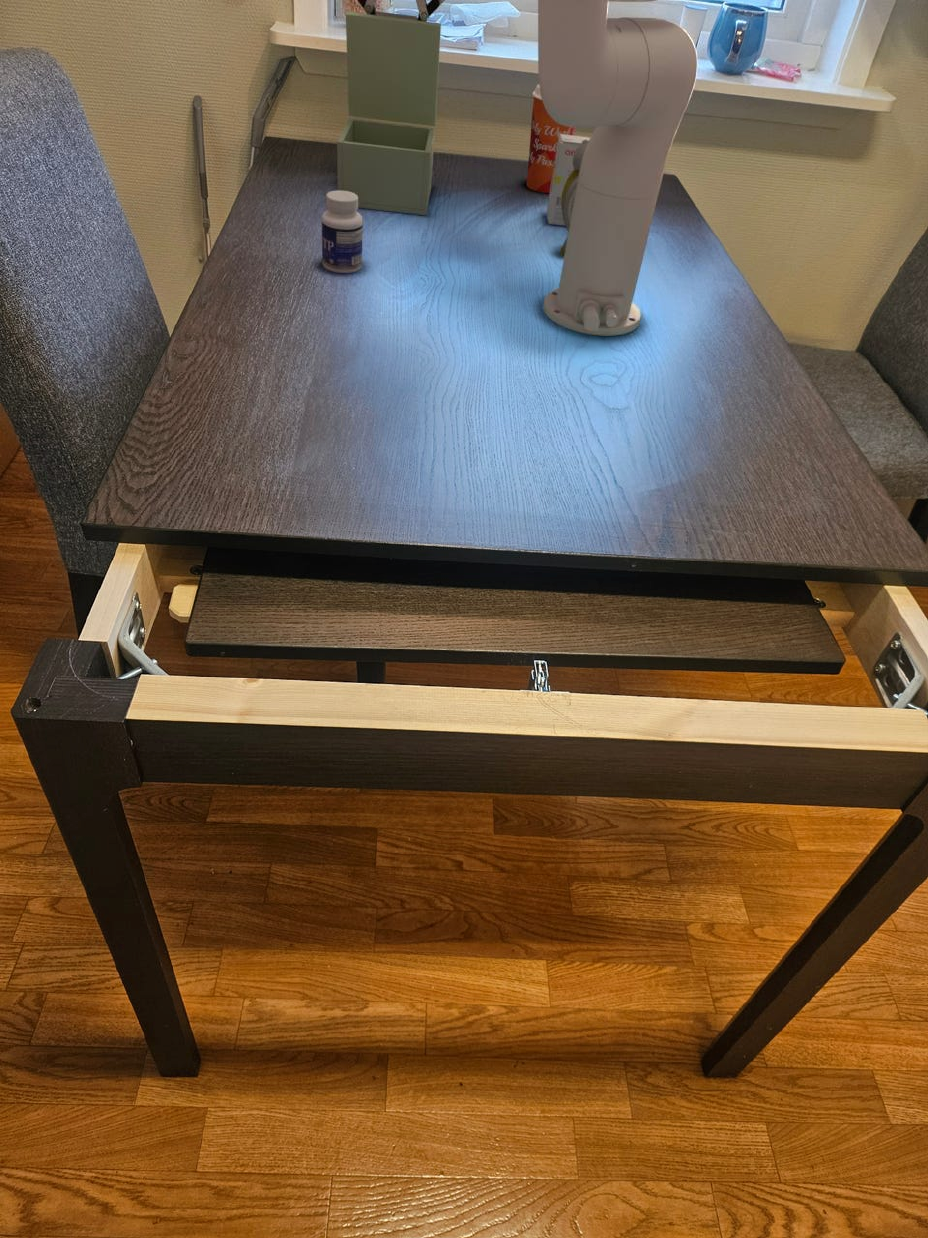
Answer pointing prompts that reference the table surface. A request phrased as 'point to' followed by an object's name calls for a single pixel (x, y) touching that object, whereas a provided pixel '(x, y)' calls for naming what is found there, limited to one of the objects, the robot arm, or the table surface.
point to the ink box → (561, 175)
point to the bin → (386, 165)
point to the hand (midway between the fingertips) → (395, 46)
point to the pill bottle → (342, 233)
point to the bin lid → (392, 67)
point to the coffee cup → (543, 145)
